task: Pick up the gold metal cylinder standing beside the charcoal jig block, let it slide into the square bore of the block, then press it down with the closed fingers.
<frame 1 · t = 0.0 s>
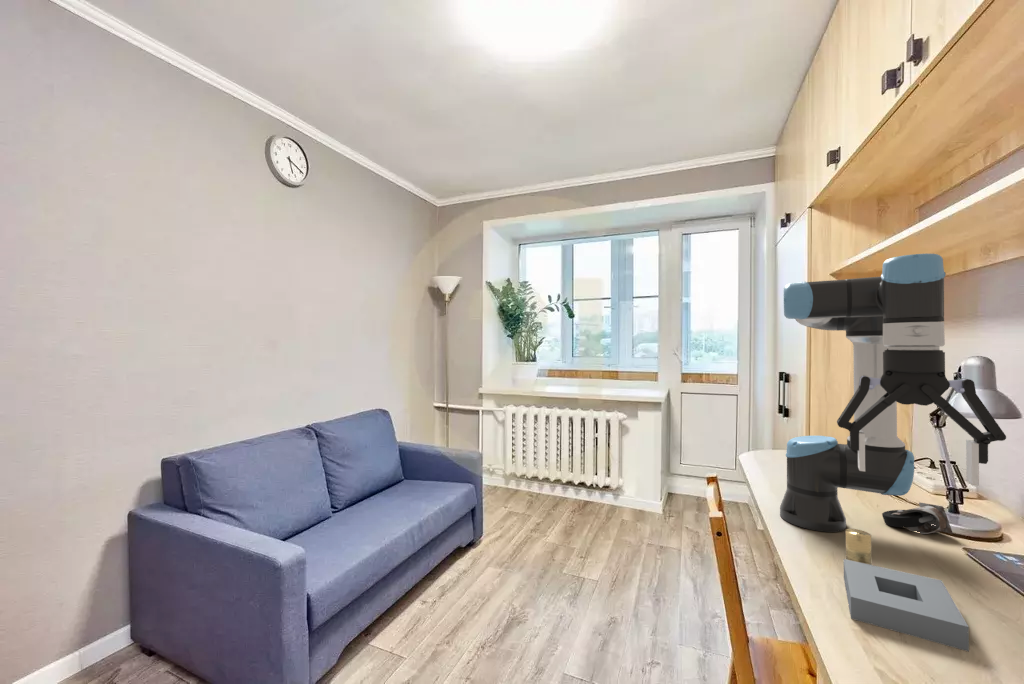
hand: (914, 476, 71), 28 cm above the table, tool pointing down, fingers open, 13 cm apart
jig: (897, 609, 80), on the table
caster wheel: (911, 529, 113), on the table
gold metal cylinder: (858, 569, 94), on the table
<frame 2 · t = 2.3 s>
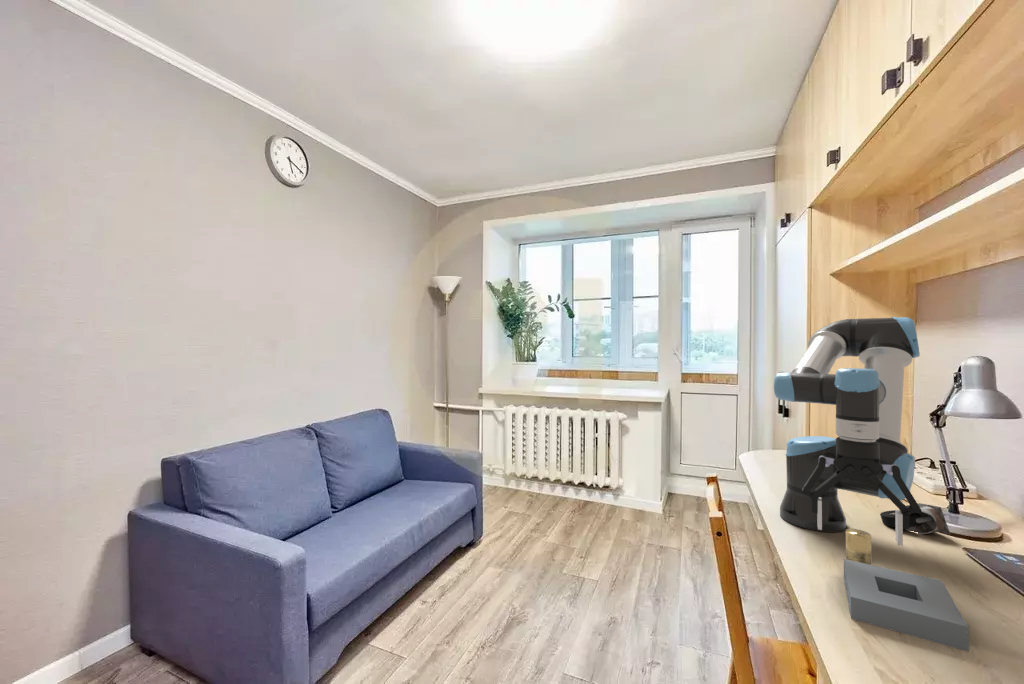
hand: (857, 535, 94), 8 cm above the table, tool pointing down, fingers open, 13 cm apart
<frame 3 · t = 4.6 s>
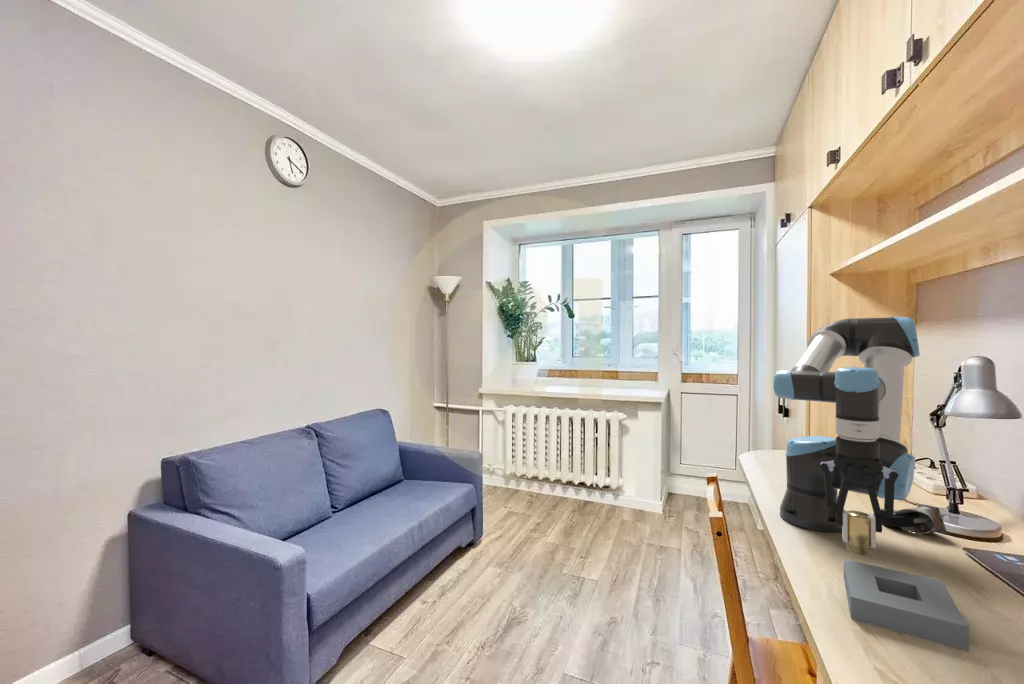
hand: (858, 542, 94), 6 cm above the table, tool pointing down, fingers closed on gold metal cylinder, 4 cm apart
gold metal cylinder: (858, 550, 94), point 4 cm above the table, touching gripper
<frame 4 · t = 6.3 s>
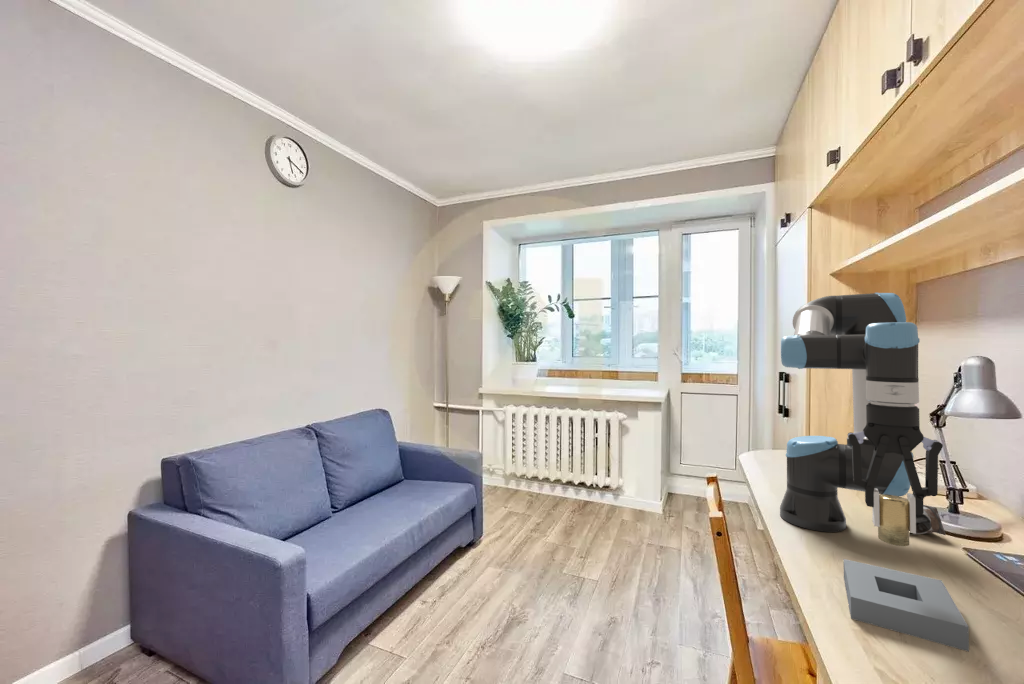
hand: (893, 527, 80), 15 cm above the table, tool pointing down, fingers closed on gold metal cylinder, 4 cm apart
gold metal cylinder: (893, 540, 80), point 13 cm above the table, touching gripper
when the fingers open (6 cm above the table, at t = 8.3 s): gold metal cylinder drops 3 cm, resting in jig.
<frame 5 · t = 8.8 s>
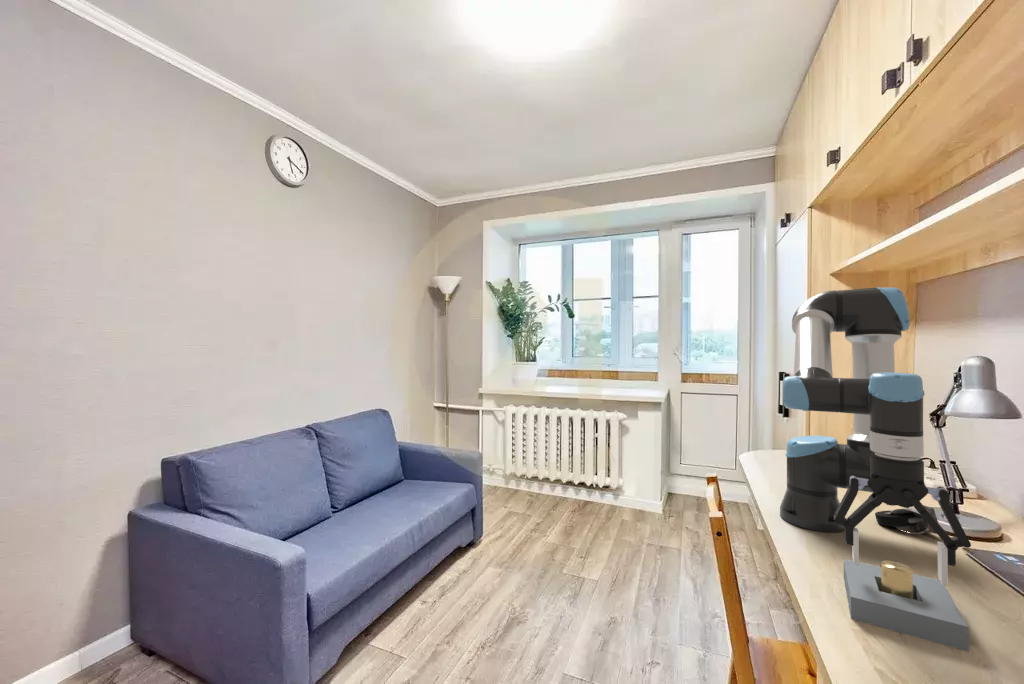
hand: (897, 571, 80), 7 cm above the table, tool pointing down, fingers open, 11 cm apart
gold metal cylinder: (897, 609, 80), resting in jig
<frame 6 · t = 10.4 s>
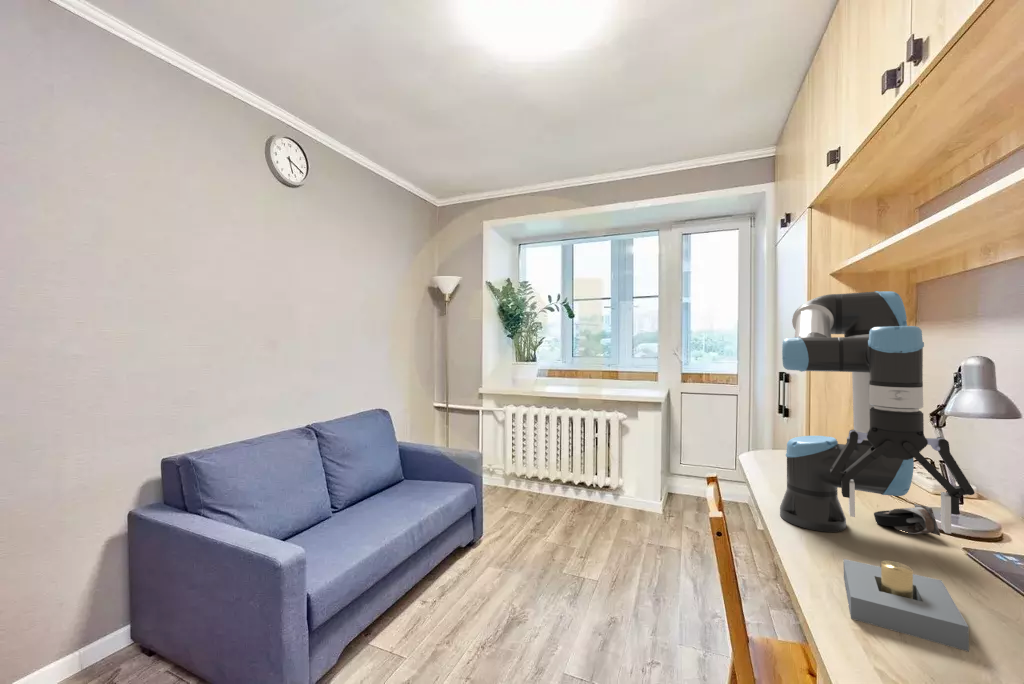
hand: (896, 522, 80), 16 cm above the table, tool pointing down, fingers open, 12 cm apart
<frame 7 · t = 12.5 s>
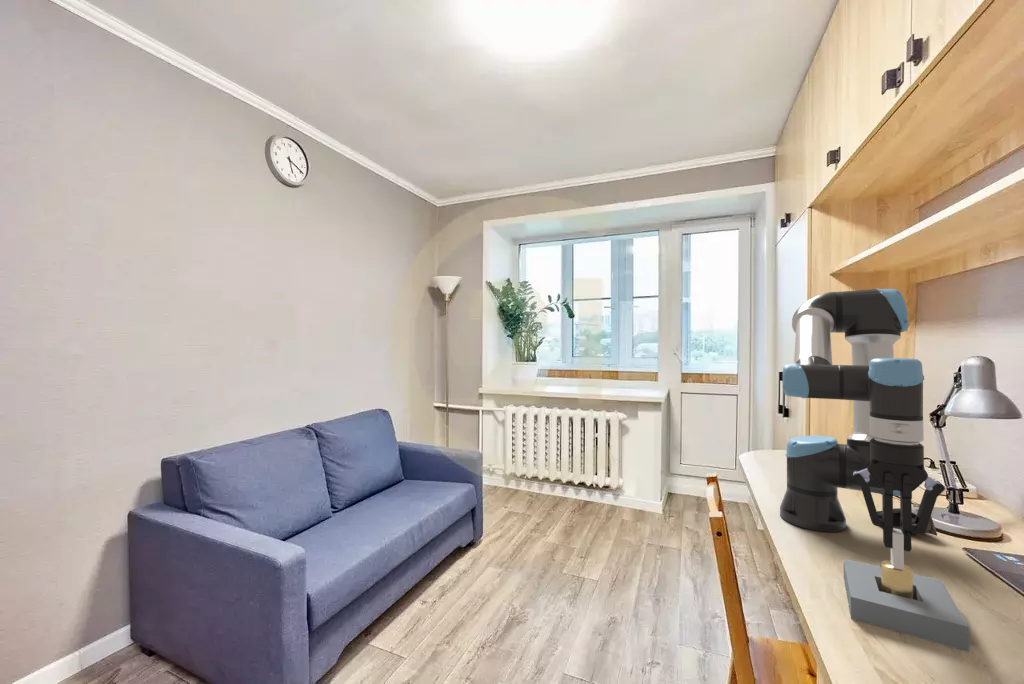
hand: (897, 565, 80), 8 cm above the table, tool pointing down, fingers closed
gold metal cylinder: (897, 609, 80), resting in jig, touching gripper
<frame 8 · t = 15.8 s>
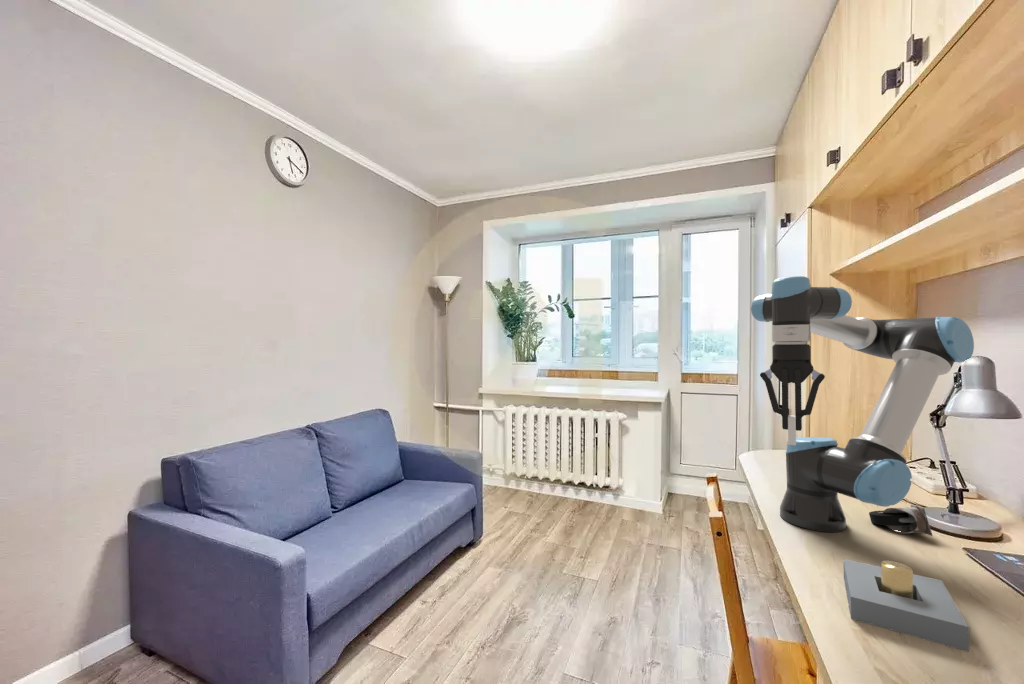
hand: (792, 443, 100), 26 cm above the table, tool pointing down, fingers closed
gold metal cylinder: (897, 609, 80), resting in jig
at the end: gold metal cylinder 0.2 cm off-centre on the jig, point 0.0 cm above the jig's base; gold metal cylinder tilted 0°; the gripper is holding nothing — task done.
